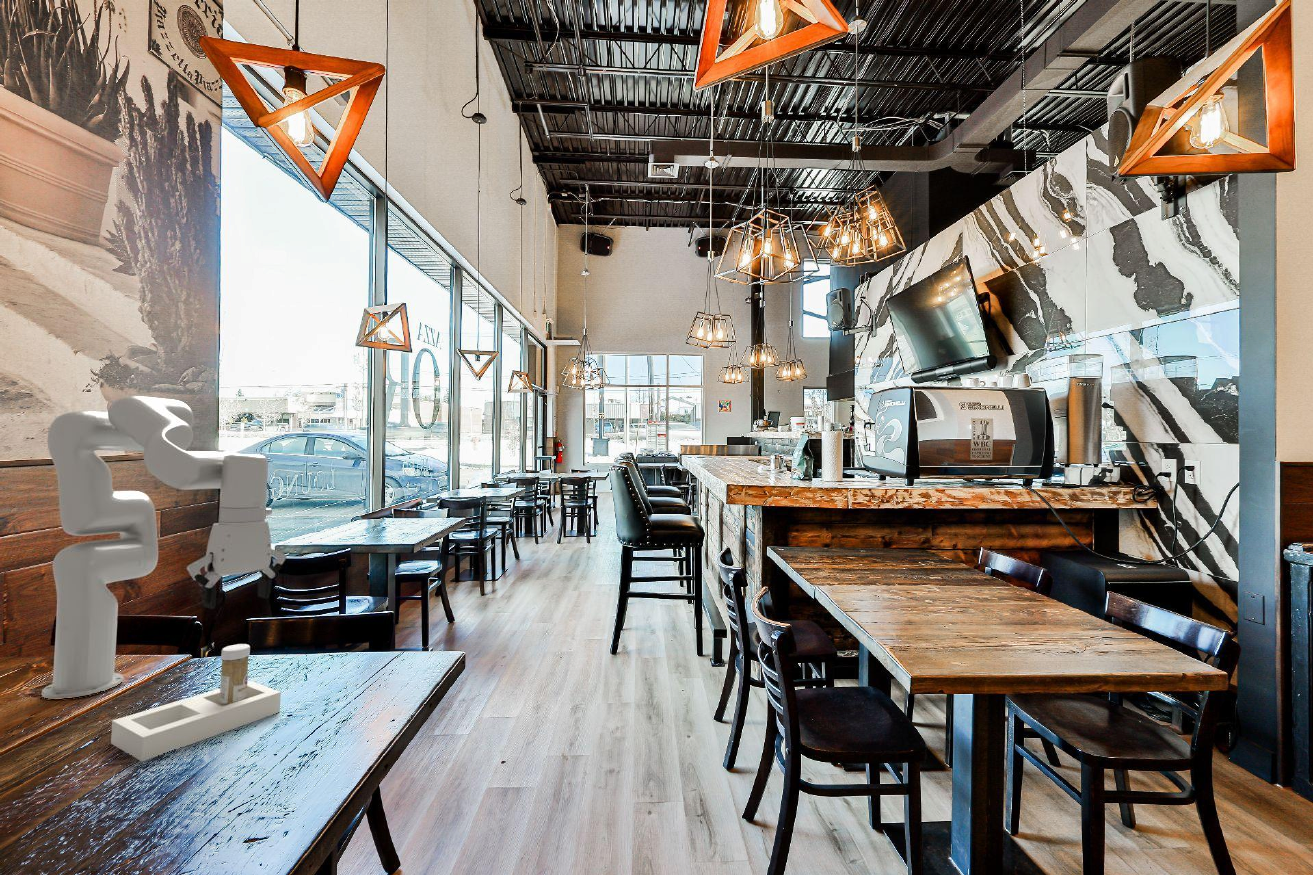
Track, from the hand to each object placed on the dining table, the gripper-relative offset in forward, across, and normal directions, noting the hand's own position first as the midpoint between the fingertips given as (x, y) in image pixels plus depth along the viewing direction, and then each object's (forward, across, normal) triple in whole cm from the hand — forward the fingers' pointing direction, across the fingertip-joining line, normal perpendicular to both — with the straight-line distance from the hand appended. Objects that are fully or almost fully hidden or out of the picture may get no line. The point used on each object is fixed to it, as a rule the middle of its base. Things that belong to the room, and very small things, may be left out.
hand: (237, 602), depth 115 cm
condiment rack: (+22, +5, +1) cm, 23 cm away
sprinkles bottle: (+22, 0, 0) cm, 22 cm away
